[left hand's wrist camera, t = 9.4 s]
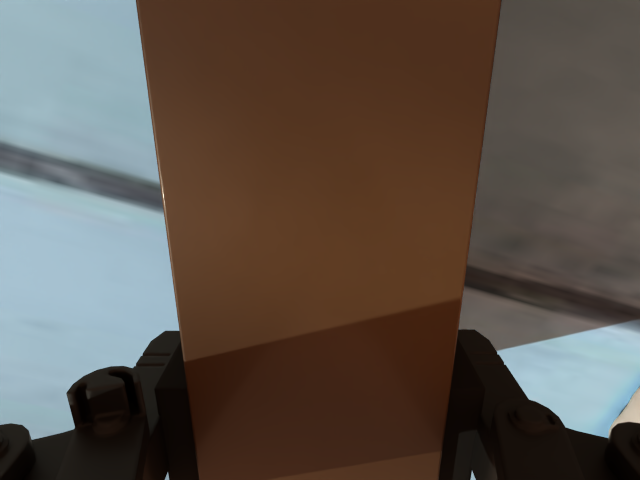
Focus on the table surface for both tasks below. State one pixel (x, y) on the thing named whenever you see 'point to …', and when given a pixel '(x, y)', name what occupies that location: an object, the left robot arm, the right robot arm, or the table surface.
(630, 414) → the skull bowl
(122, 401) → the left robot arm
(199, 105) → the bar
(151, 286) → the table surface
